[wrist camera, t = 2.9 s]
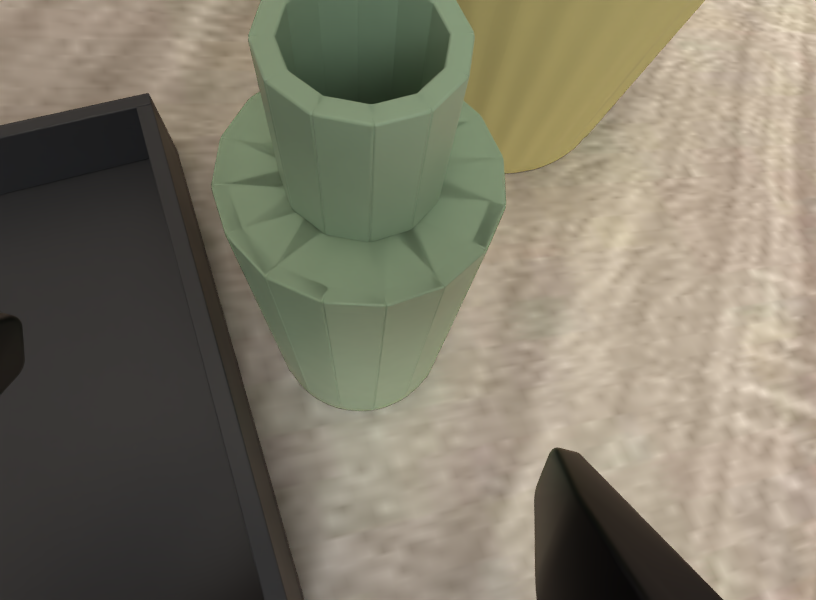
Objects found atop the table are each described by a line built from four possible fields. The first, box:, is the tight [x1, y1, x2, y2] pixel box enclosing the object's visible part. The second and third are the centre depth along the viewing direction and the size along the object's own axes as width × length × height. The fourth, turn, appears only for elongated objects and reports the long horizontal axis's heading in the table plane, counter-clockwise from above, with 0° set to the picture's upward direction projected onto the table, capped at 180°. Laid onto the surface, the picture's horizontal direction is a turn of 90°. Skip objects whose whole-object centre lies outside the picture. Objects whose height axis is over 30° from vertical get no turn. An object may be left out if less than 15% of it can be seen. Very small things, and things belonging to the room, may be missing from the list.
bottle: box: [211, 0, 506, 411], centre depth 15 cm, size 6×6×14 cm
